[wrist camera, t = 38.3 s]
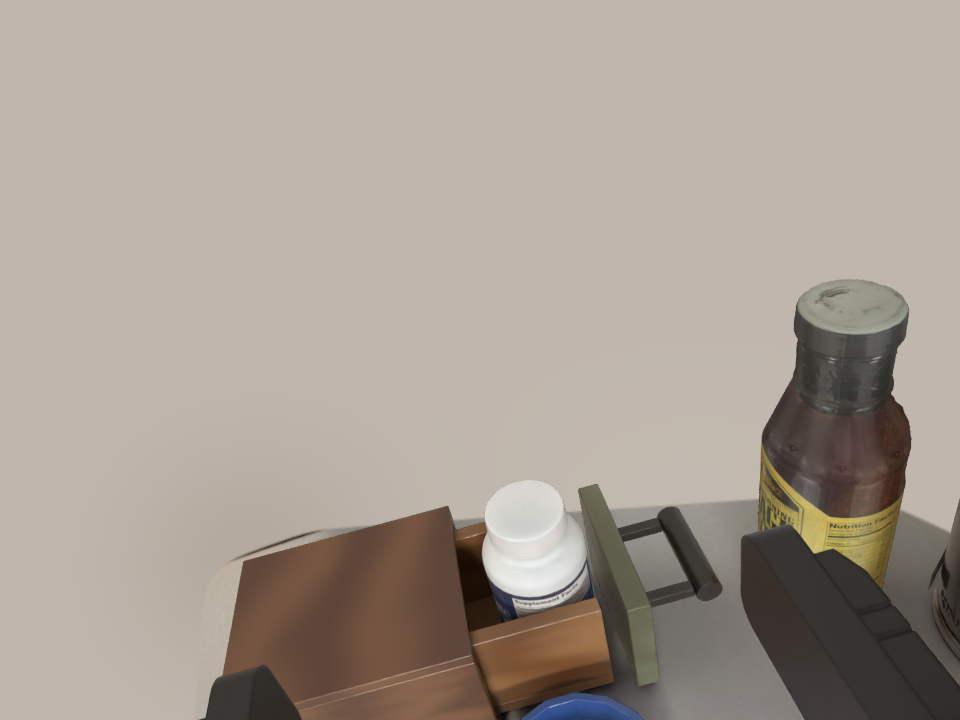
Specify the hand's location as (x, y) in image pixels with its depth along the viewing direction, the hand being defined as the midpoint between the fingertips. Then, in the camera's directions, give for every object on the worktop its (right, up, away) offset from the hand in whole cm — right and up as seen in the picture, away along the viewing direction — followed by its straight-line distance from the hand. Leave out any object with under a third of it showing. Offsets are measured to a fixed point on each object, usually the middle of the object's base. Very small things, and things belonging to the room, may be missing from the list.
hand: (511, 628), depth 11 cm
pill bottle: (+4, -11, +27) cm, 29 cm away
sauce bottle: (+19, -9, +27) cm, 34 cm away
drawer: (+5, -11, +28) cm, 30 cm away
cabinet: (-6, -15, +28) cm, 32 cm away
